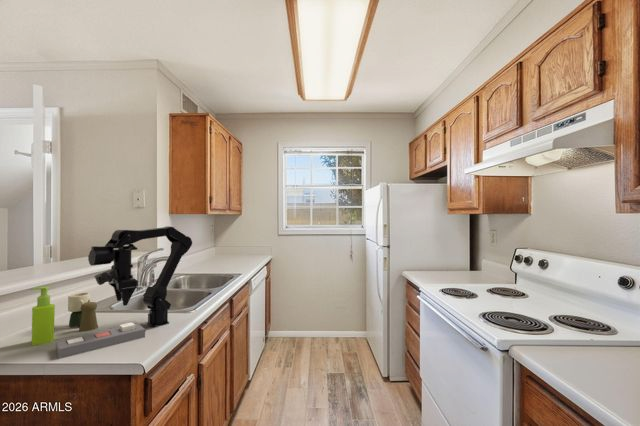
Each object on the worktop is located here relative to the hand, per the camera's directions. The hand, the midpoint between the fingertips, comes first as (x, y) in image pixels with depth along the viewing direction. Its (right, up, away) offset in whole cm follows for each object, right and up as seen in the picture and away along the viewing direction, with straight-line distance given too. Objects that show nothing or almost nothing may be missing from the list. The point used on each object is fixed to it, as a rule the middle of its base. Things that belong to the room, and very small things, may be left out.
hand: (121, 303), depth 115 cm
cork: (-16, -12, +4) cm, 21 cm away
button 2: (+5, -10, -4) cm, 12 cm away
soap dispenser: (-23, -12, -8) cm, 27 cm away
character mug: (-24, -13, +9) cm, 29 cm away
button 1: (-6, -11, -15) cm, 19 cm away
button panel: (-1, -12, -9) cm, 15 cm away
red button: (-1, -11, -9) cm, 15 cm away
